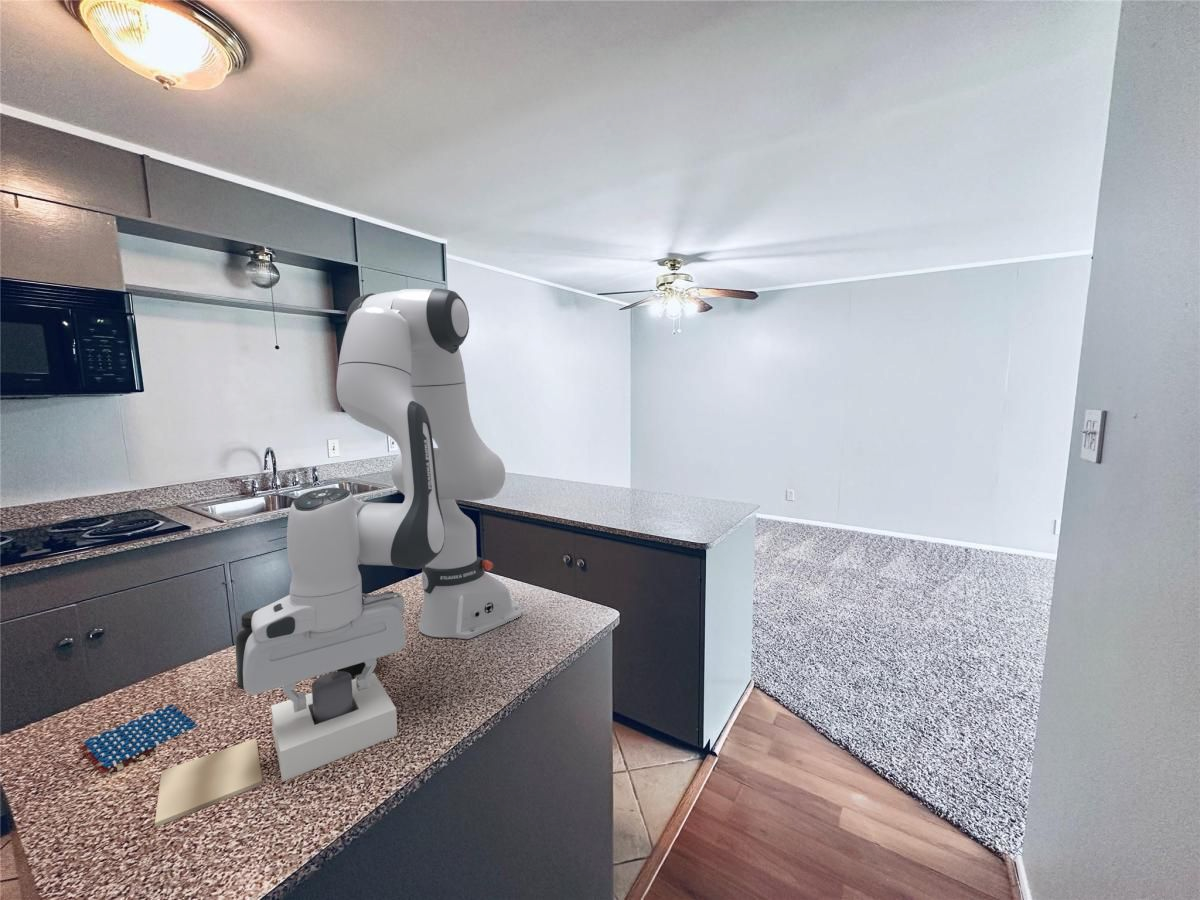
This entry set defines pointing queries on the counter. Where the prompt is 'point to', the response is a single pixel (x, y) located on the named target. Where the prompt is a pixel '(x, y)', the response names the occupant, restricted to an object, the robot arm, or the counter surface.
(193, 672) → the counter surface
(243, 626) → the supplement bottle
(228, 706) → the counter surface
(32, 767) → the counter surface
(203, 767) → the pad
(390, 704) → the block
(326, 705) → the grey cylinder
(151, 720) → the woven mat
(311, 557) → the robot arm
